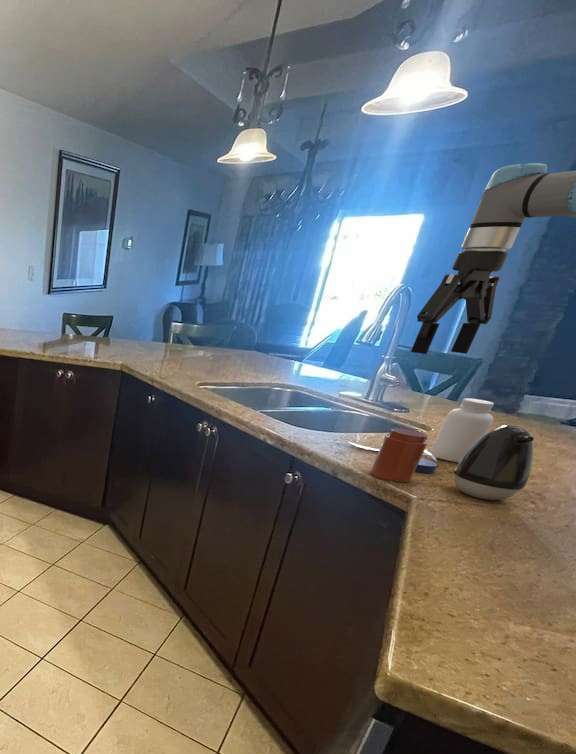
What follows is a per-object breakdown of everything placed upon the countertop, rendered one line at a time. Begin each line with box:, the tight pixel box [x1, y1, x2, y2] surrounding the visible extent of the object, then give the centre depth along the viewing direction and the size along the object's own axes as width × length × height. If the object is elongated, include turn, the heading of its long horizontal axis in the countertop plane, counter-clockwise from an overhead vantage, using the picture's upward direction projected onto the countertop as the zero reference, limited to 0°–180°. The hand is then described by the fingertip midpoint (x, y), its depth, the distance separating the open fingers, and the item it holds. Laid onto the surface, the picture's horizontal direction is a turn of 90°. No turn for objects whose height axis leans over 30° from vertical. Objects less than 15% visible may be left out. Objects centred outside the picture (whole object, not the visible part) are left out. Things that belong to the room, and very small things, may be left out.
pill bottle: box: [430, 397, 495, 464], centre depth 121 cm, size 8×8×15 cm
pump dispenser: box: [453, 424, 535, 501], centre depth 99 cm, size 10×10×15 cm
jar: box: [369, 427, 429, 483], centre depth 109 cm, size 7×7×10 cm
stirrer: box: [339, 436, 439, 464], centre depth 126 cm, size 20×4×5 cm
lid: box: [414, 457, 438, 474], centre depth 116 cm, size 8×7×2 cm
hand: (438, 352), depth 112 cm, fingers open, 13 cm apart
